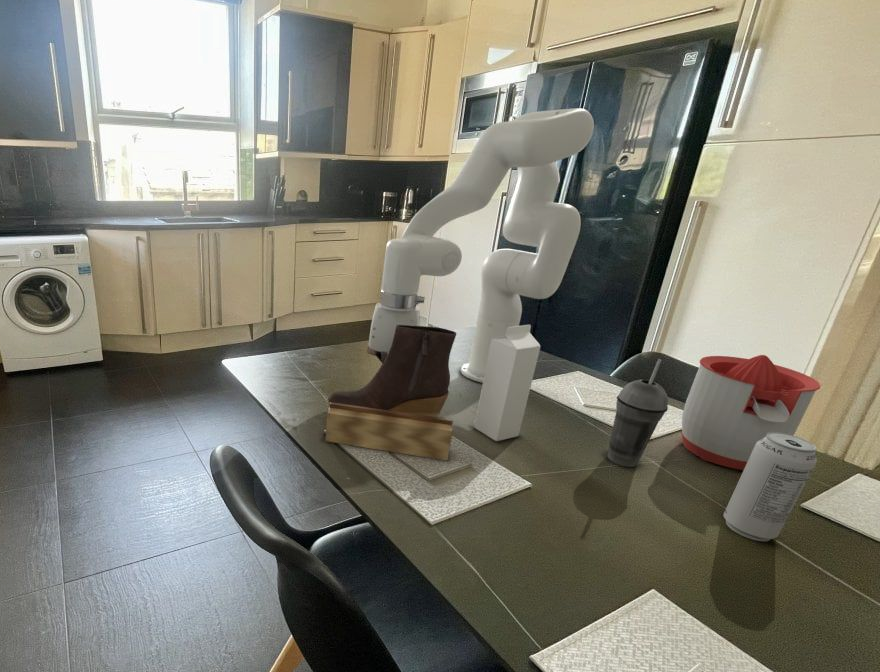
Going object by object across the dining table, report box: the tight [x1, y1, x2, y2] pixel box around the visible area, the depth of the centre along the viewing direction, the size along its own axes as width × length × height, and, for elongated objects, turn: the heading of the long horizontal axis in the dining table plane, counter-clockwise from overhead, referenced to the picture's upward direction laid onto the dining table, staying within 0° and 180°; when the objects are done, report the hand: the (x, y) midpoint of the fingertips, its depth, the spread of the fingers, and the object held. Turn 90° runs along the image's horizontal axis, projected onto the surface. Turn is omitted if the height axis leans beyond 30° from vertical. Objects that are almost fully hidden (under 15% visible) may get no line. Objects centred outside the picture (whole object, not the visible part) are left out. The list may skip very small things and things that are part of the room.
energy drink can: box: [723, 432, 818, 542], centre depth 68 cm, size 6×6×15 cm
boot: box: [326, 325, 457, 417], centre depth 98 cm, size 9×24×20 cm, turn 84°
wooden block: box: [324, 402, 454, 461], centre depth 89 cm, size 22×3×7 cm, turn 75°
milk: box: [473, 324, 541, 442], centre depth 92 cm, size 6×6×22 cm
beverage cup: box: [607, 358, 669, 468], centre depth 84 cm, size 7×7×20 cm
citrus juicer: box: [680, 354, 821, 471], centre depth 86 cm, size 16×17×20 cm
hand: (388, 380), depth 108 cm, fingers closed
